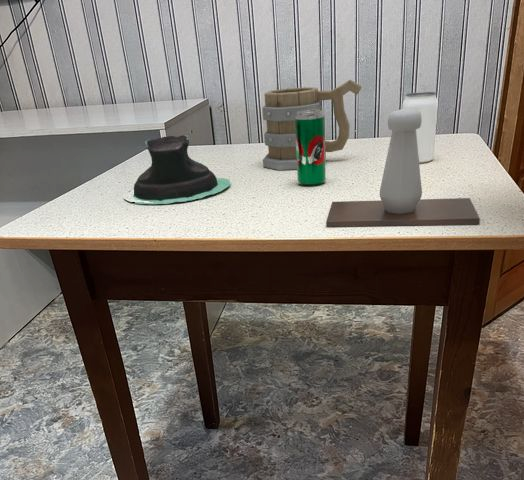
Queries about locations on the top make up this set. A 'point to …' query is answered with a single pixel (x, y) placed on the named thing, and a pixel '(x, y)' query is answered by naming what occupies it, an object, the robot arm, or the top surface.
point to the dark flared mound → (175, 174)
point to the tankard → (283, 121)
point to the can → (424, 122)
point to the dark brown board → (423, 214)
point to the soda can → (310, 147)
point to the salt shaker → (402, 163)
